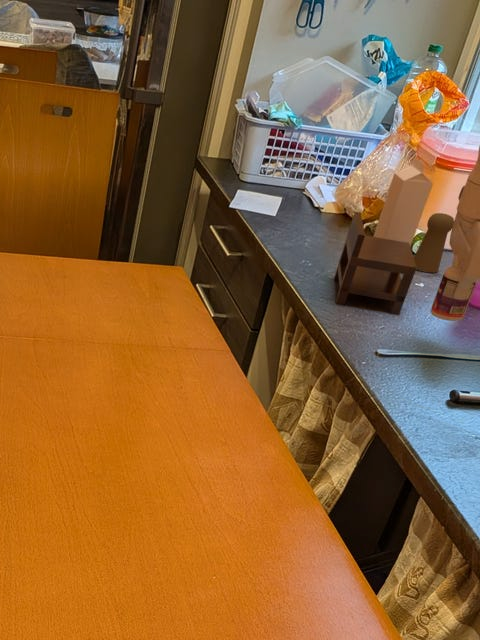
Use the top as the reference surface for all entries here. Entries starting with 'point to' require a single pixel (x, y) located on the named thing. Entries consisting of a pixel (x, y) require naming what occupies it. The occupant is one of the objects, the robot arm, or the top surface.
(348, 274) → the brown chair
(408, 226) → the milk
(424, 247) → the brown pawn
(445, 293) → the pill bottle
